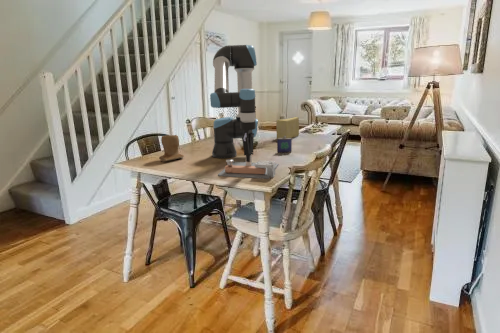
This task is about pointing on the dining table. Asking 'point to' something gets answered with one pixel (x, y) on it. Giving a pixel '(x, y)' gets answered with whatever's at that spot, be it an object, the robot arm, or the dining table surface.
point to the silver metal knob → (229, 162)
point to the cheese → (287, 127)
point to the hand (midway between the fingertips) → (248, 167)
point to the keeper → (269, 165)
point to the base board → (245, 173)
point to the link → (244, 169)
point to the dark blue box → (284, 145)
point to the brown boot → (170, 148)
